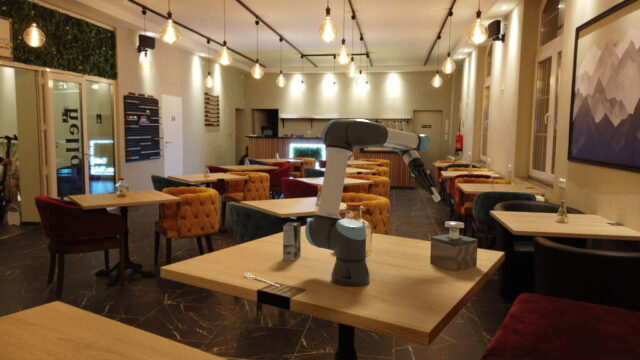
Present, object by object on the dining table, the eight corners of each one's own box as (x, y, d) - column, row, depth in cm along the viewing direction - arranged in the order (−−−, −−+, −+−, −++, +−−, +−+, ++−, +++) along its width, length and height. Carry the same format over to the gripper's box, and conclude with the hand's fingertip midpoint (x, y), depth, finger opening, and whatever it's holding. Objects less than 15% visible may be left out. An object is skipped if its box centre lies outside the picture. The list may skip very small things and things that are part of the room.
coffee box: (296, 261, 206) (296, 226, 204) (282, 260, 207) (282, 225, 206) (301, 255, 215) (301, 222, 213) (288, 255, 216) (288, 221, 214)
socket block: (454, 271, 192) (455, 243, 191) (430, 262, 204) (431, 236, 203) (476, 266, 200) (477, 239, 198) (452, 258, 212) (453, 233, 210)
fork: (277, 289, 170) (277, 285, 170) (242, 277, 183) (242, 272, 183) (283, 287, 173) (283, 282, 173) (248, 275, 186) (249, 271, 185)
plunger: (454, 254, 196) (455, 225, 195) (440, 250, 203) (441, 222, 201) (466, 252, 200) (468, 223, 199) (453, 248, 207) (454, 220, 206)
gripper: (419, 166, 228) (443, 203, 215) (399, 167, 221) (423, 206, 208) (427, 156, 222) (452, 194, 210) (407, 156, 216) (432, 196, 203)
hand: (438, 200), depth 209 cm, fingers closed
